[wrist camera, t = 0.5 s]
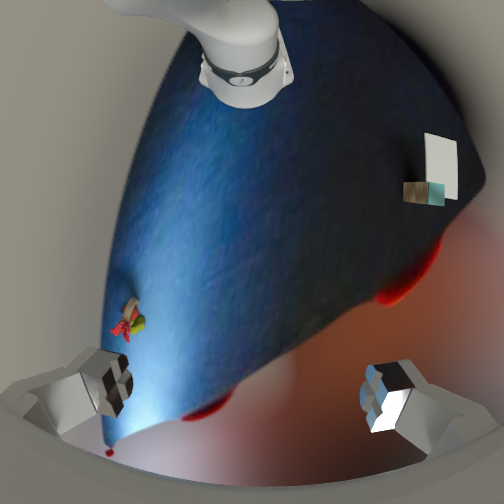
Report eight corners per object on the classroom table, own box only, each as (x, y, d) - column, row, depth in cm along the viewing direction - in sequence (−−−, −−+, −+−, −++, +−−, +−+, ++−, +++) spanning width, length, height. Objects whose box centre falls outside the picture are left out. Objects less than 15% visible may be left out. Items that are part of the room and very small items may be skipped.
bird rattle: (129, 293, 59) (119, 329, 57) (109, 291, 48) (99, 333, 46) (152, 301, 59) (142, 338, 57) (136, 301, 48) (125, 344, 46)
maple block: (403, 182, 49) (429, 181, 39) (418, 184, 48) (444, 184, 39) (403, 201, 49) (428, 204, 40) (417, 203, 49) (444, 206, 40)
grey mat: (424, 133, 46) (424, 132, 45) (455, 141, 45) (456, 141, 45) (425, 194, 49) (426, 194, 48) (456, 199, 48) (457, 199, 48)
